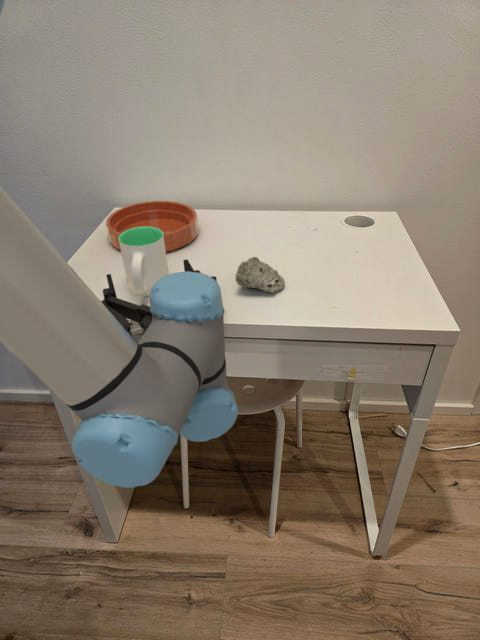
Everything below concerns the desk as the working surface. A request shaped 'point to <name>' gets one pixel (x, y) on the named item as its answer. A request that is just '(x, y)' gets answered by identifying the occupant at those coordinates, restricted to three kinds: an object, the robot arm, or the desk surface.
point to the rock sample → (259, 276)
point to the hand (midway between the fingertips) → (148, 273)
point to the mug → (143, 258)
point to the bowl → (156, 222)
